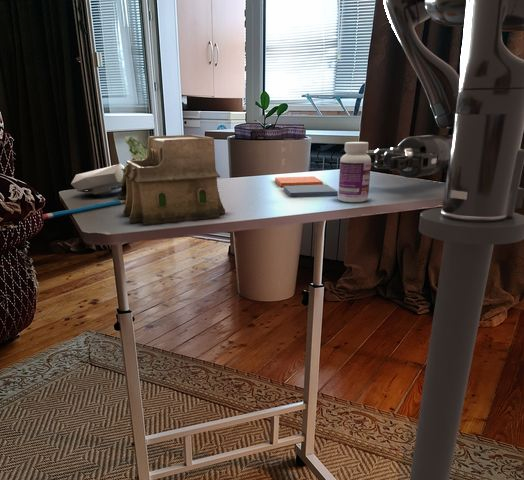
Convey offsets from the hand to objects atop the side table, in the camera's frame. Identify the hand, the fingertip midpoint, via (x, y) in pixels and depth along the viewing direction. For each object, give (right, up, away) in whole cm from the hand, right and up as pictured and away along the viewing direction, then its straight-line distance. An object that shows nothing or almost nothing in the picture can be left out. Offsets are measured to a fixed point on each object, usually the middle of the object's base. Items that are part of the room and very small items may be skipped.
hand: (372, 162), depth 90 cm
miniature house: (-34, -12, -8) cm, 37 cm away
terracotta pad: (-12, +3, +20) cm, 23 cm away
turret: (-50, -1, +13) cm, 52 cm away
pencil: (-50, -9, -5) cm, 51 cm away
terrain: (-41, -1, +2) cm, 41 cm away
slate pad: (-10, -3, +8) cm, 14 cm away
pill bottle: (-3, -7, 0) cm, 8 cm away
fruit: (-43, -5, +4) cm, 43 cm away
